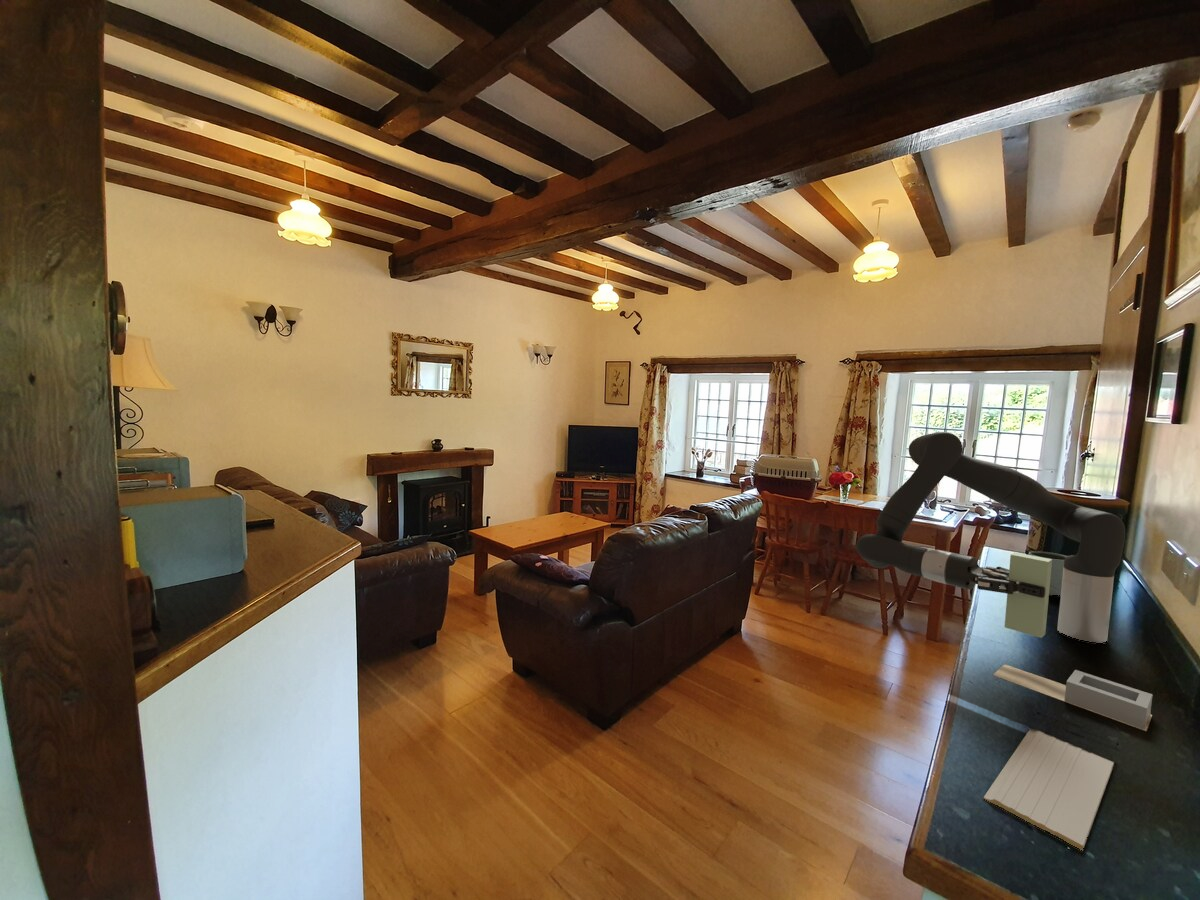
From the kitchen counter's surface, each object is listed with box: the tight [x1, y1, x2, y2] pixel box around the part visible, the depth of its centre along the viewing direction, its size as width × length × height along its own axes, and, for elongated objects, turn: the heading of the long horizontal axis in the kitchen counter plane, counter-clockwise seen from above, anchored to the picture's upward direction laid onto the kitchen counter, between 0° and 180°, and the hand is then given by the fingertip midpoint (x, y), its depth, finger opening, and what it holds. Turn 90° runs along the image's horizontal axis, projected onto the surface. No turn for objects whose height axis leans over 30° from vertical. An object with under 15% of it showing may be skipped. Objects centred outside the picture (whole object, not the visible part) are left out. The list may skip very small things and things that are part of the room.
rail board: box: [992, 663, 1153, 732], centre depth 97 cm, size 8×22×1 cm, turn 36°
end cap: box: [1064, 669, 1154, 731], centre depth 93 cm, size 8×10×4 cm
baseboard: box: [983, 711, 1120, 852], centre depth 77 cm, size 31×3×12 cm
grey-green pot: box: [1028, 550, 1068, 597], centre depth 158 cm, size 10×10×12 cm
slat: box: [1004, 551, 1052, 639], centre depth 102 cm, size 3×6×16 cm, turn 36°
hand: (1046, 590), depth 99 cm, fingers closed on slat, 3 cm apart
